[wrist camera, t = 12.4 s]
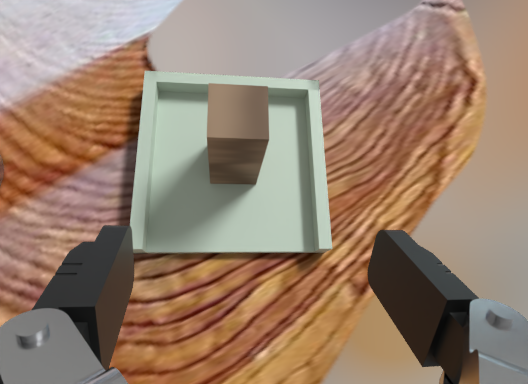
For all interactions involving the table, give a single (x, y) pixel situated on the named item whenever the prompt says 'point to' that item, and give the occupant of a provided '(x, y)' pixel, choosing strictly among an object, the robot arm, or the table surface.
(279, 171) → the tray
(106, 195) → the table surface
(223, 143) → the block
